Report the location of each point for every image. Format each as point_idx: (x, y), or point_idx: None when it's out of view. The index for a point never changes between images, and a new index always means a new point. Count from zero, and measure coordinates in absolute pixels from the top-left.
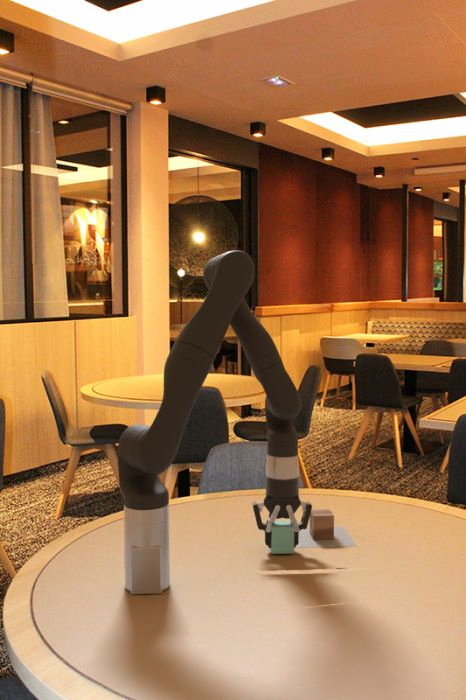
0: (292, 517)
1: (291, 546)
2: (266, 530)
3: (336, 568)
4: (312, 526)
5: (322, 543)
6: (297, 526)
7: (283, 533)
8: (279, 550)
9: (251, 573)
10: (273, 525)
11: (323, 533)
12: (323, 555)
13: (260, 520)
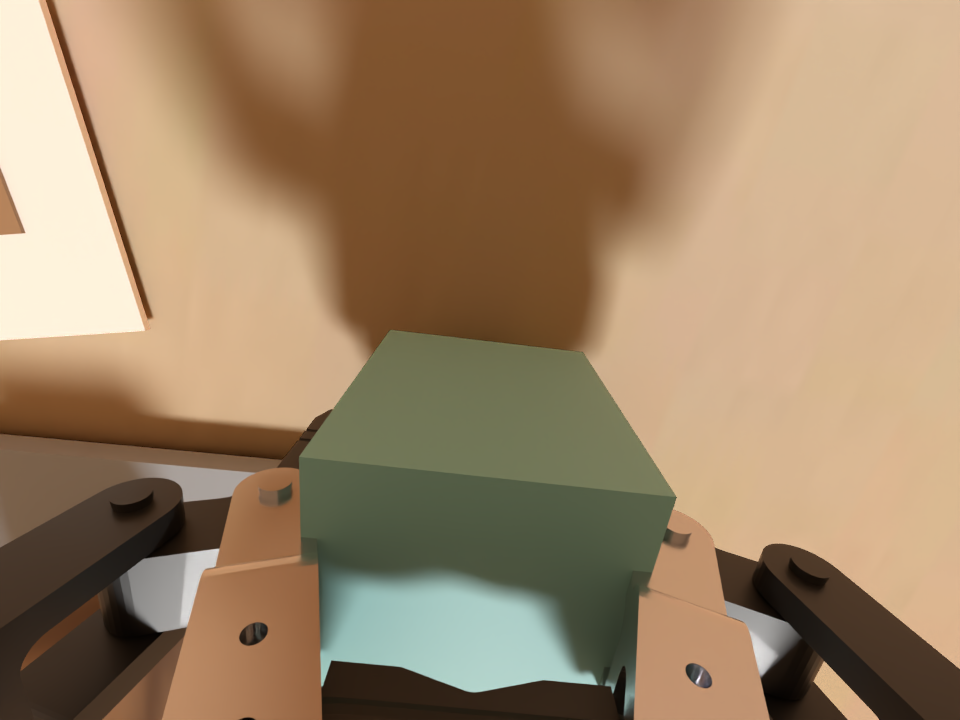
0: (249, 651)
1: (401, 353)
2: (697, 527)
3: (44, 3)
4: (132, 703)
5: None
6: (241, 519)
7: (483, 427)
8: (519, 354)
9: (835, 78)
10: (618, 578)
11: (75, 621)
12: (154, 363)
13: (898, 676)
